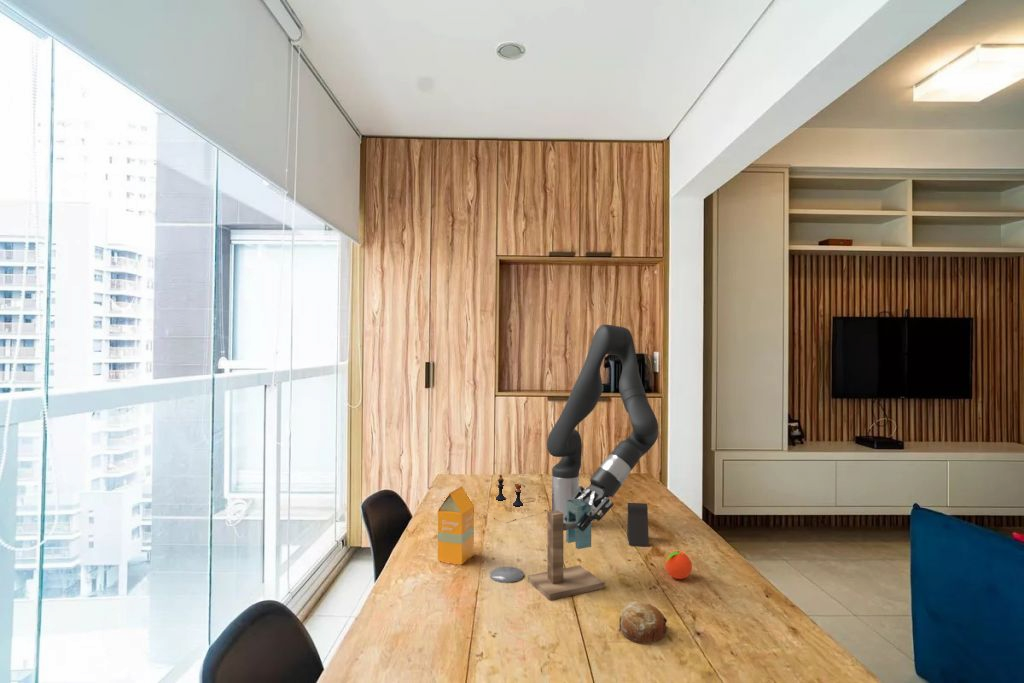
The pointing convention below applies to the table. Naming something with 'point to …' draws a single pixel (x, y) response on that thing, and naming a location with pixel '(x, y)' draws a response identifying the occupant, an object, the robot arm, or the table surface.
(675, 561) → the clementine
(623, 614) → the bread roll
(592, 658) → the table surface
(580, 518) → the c link
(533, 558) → the table surface
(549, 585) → the stand
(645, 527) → the phone stand
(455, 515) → the orange juice
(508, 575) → the coaster
